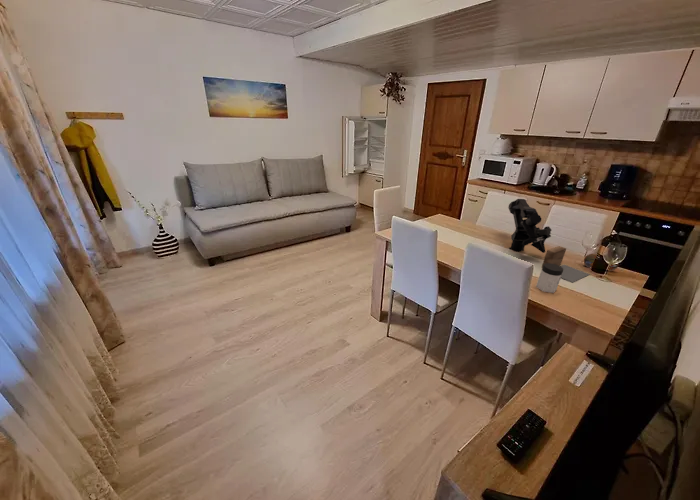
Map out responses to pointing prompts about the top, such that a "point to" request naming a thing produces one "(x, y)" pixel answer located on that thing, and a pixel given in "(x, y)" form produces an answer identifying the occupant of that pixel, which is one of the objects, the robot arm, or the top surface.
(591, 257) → the tin
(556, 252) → the block
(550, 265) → the jar
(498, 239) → the top surface
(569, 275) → the mat
